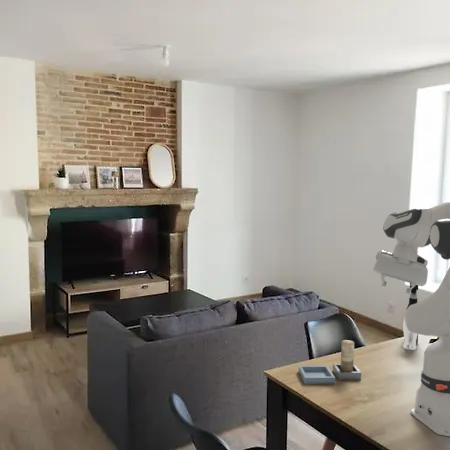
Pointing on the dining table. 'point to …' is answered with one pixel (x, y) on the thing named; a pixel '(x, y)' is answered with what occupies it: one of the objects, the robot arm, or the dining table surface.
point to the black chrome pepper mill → (413, 300)
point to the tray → (316, 375)
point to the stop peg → (347, 356)
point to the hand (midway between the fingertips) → (395, 289)
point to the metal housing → (346, 373)
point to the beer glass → (409, 338)
